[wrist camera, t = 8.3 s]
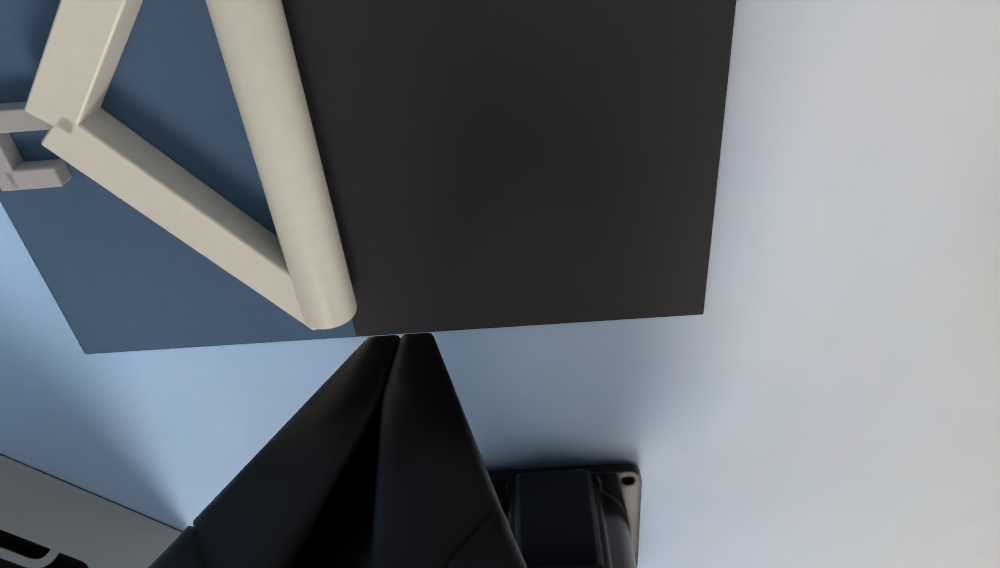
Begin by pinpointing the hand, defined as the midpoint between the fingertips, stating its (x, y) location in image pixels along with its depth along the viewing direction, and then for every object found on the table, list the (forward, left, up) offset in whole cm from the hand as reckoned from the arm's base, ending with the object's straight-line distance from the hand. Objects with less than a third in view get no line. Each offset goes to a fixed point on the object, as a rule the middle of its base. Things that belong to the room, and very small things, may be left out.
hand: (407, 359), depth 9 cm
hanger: (0, +8, -10) cm, 13 cm away
